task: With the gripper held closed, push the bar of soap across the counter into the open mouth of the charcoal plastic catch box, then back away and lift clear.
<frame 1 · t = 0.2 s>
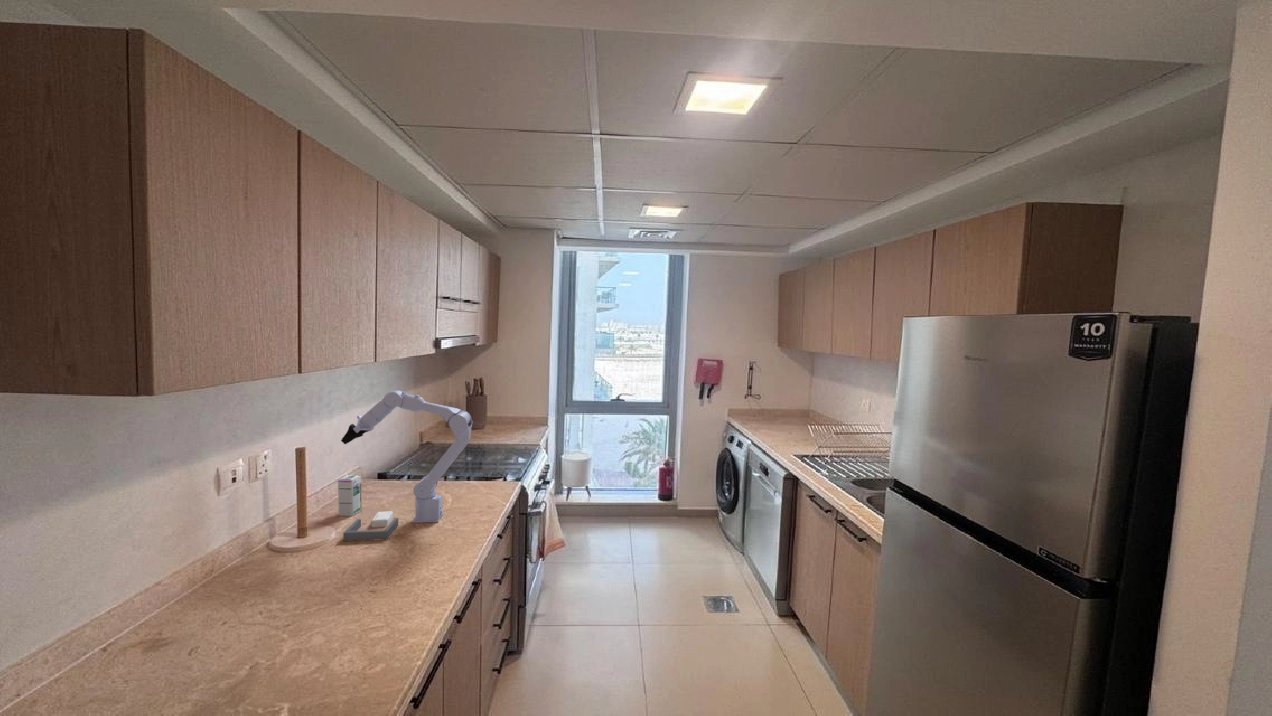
hand: (347, 439, 180), 31 cm above the worktop, tool tilted 45°, fingers open, 7 cm apart
catch box: (372, 532, 173), on the worktop
syrup box: (350, 513, 189), on the worktop
soap: (382, 523, 182), on the worktop
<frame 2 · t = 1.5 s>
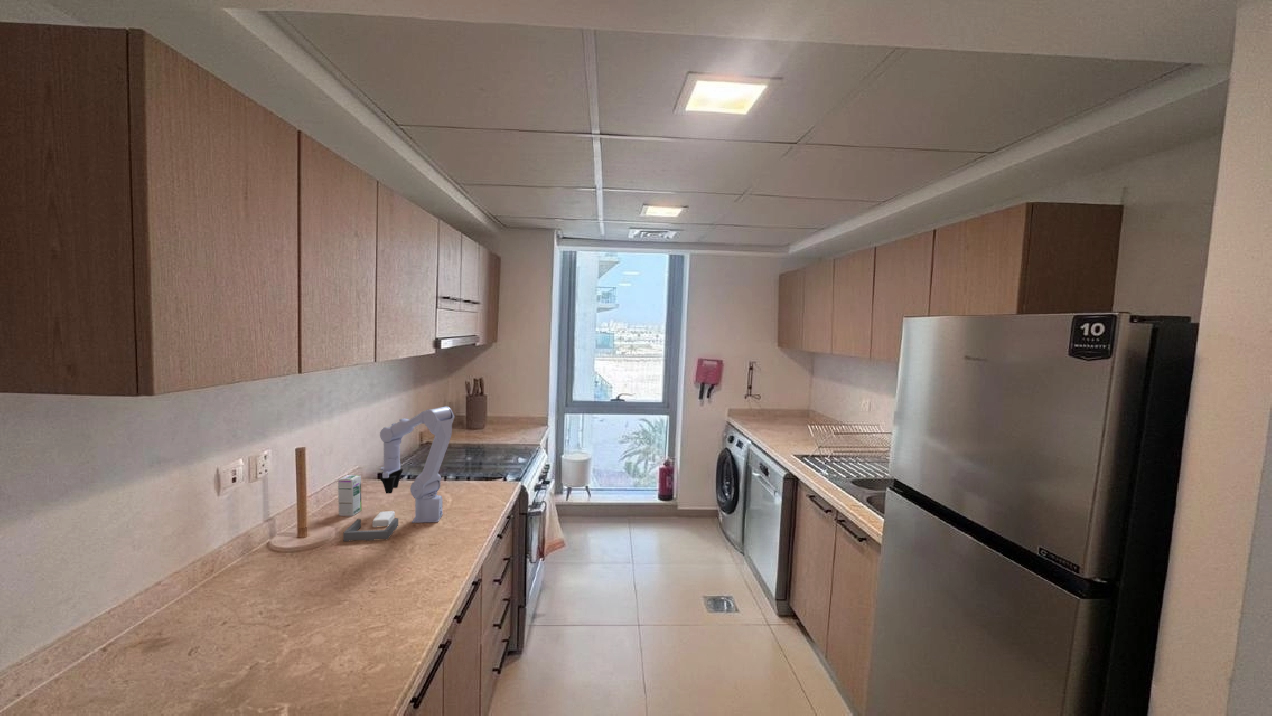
hand: (391, 490, 192), 8 cm above the worktop, tool pointing down, fingers open, 6 cm apart
nothing on the worktop moved.
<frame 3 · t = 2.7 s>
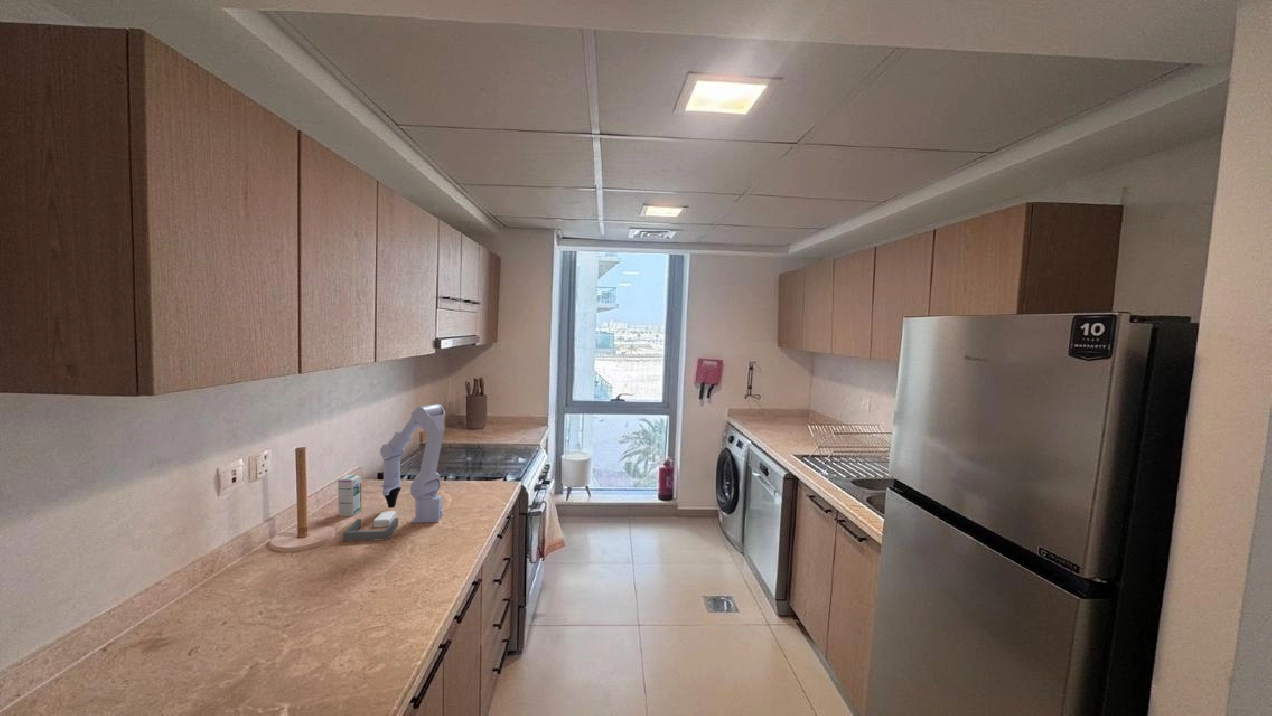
hand: (391, 506, 192), 2 cm above the worktop, tool pointing down, fingers closed
nothing on the worktop moved.
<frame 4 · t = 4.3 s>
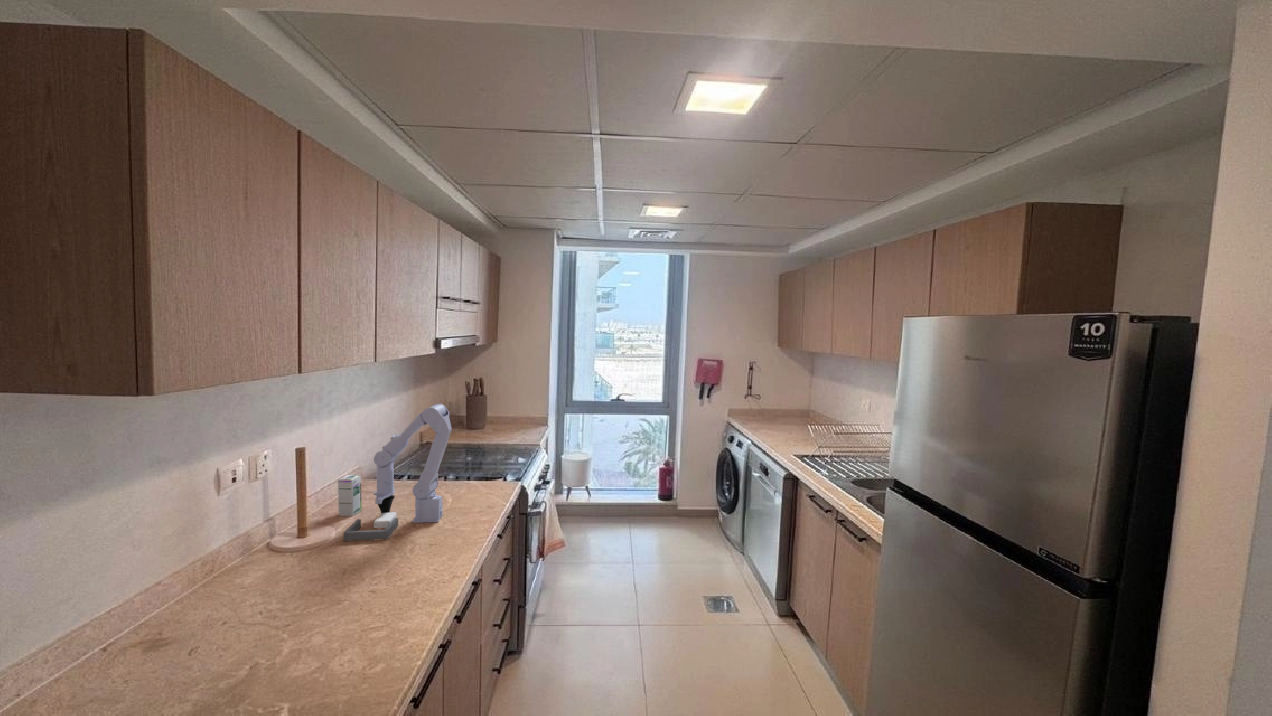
hand: (385, 515, 185), 1 cm above the worktop, tool pointing down, fingers closed
soap: (385, 524, 180), on the worktop, touching gripper
everything else where it was.
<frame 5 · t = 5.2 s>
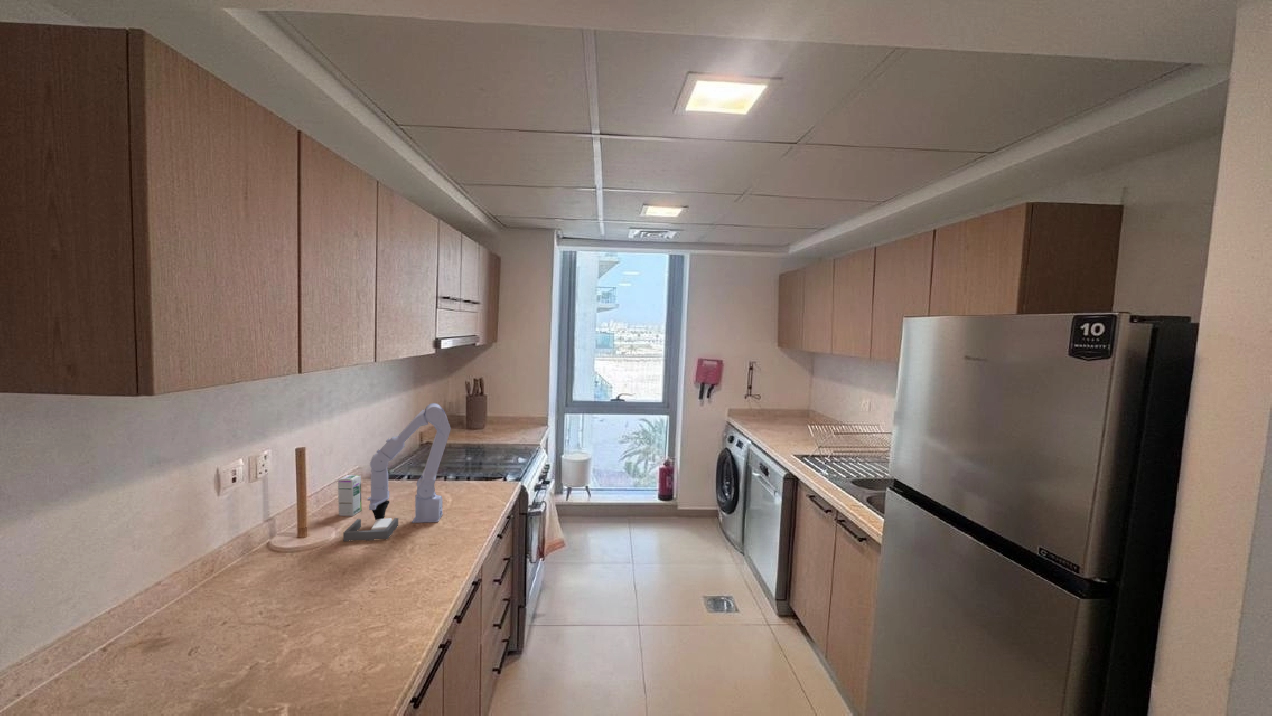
hand: (379, 521, 179), 1 cm above the worktop, tool pointing down, fingers closed
soap: (381, 531, 175), on the worktop, touching gripper
everything else where it was.
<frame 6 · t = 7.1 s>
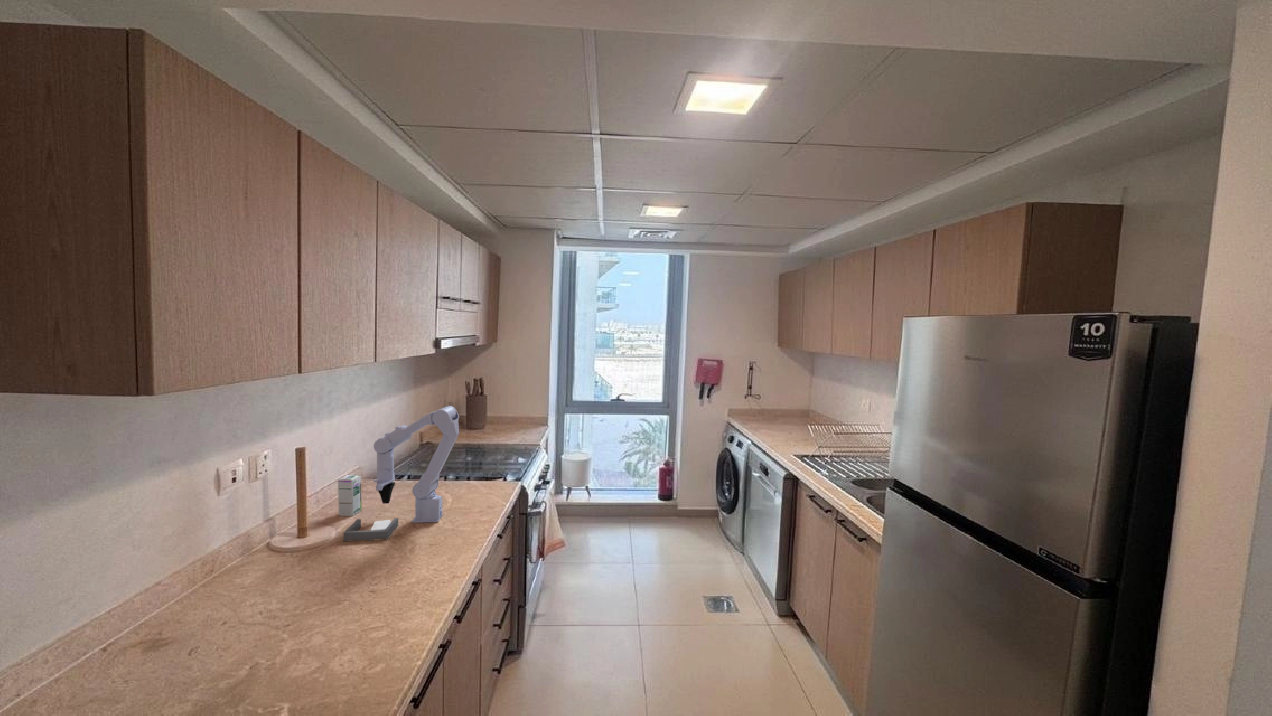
hand: (386, 502, 185), 6 cm above the worktop, tool pointing down, fingers closed
soap: (380, 533, 173), on the worktop
everything else where it was.
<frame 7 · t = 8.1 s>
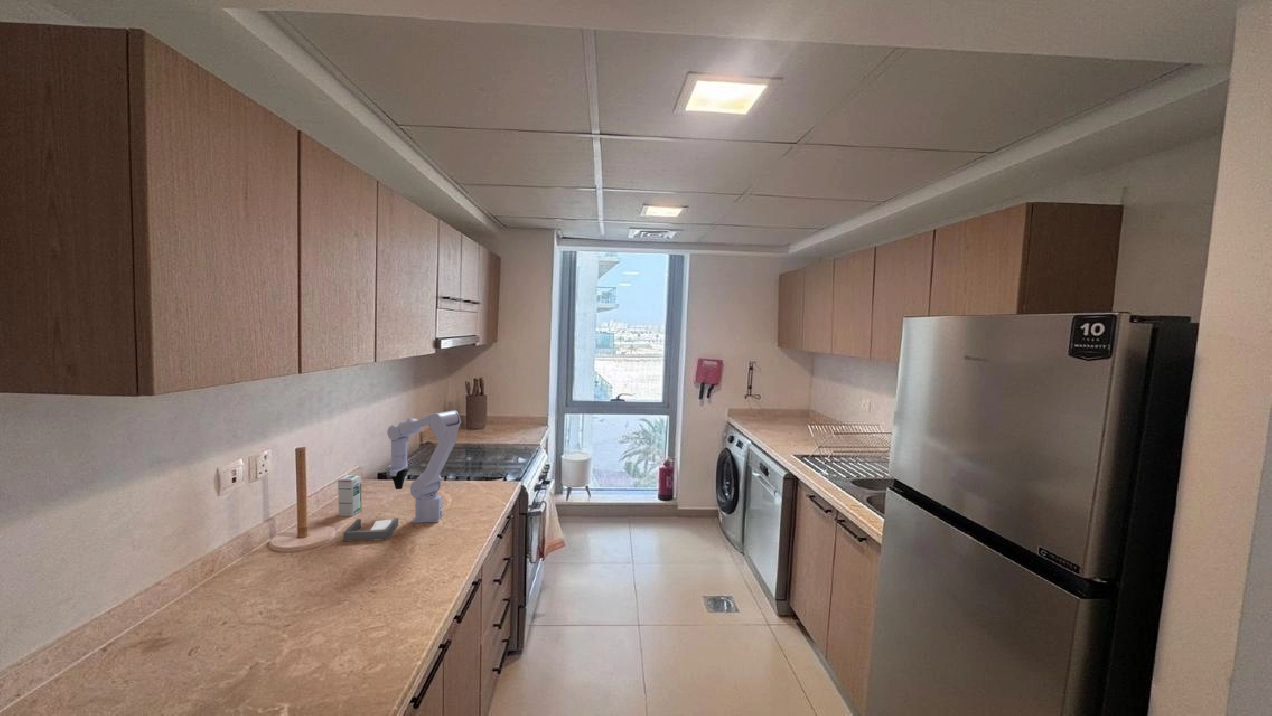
hand: (399, 488, 191), 9 cm above the worktop, tool pointing down, fingers closed
nothing on the worktop moved.
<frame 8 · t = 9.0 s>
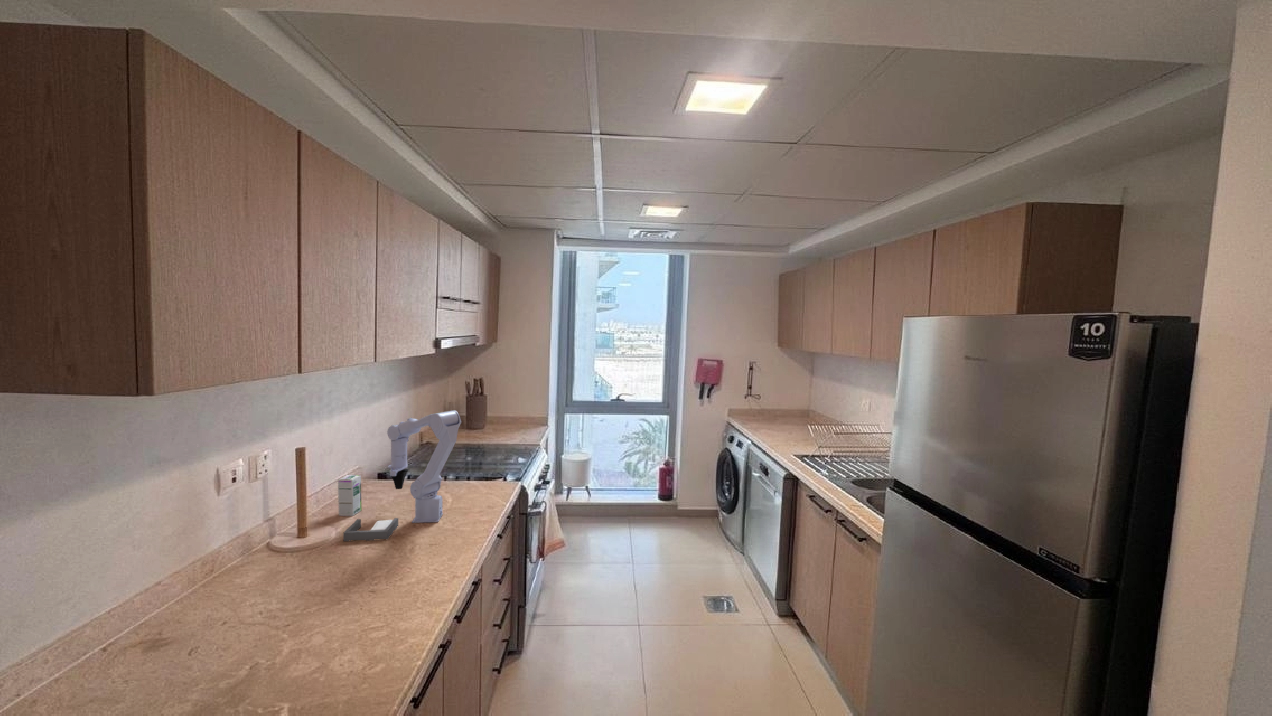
hand: (399, 488, 191), 9 cm above the worktop, tool pointing down, fingers closed
nothing on the worktop moved.
at the end: soap inside the target area (3.1 cm from its centre), on the worktop; soap tilted 0° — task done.
